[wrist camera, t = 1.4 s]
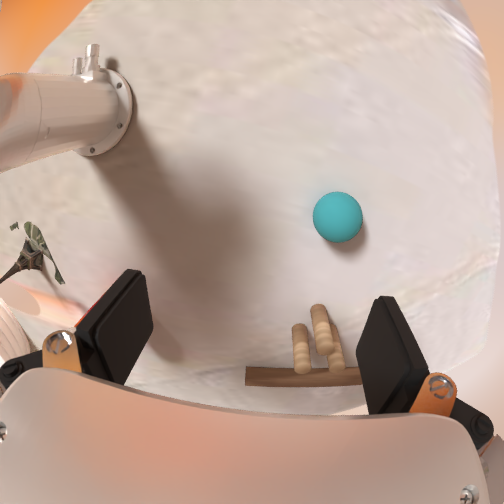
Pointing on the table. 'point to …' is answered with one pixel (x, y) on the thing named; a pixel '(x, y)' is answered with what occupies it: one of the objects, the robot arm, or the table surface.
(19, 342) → the plate stack
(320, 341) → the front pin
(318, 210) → the ball
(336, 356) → the pin
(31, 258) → the eiffel tower figurine
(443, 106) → the table surface
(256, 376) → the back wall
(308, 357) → the pin
